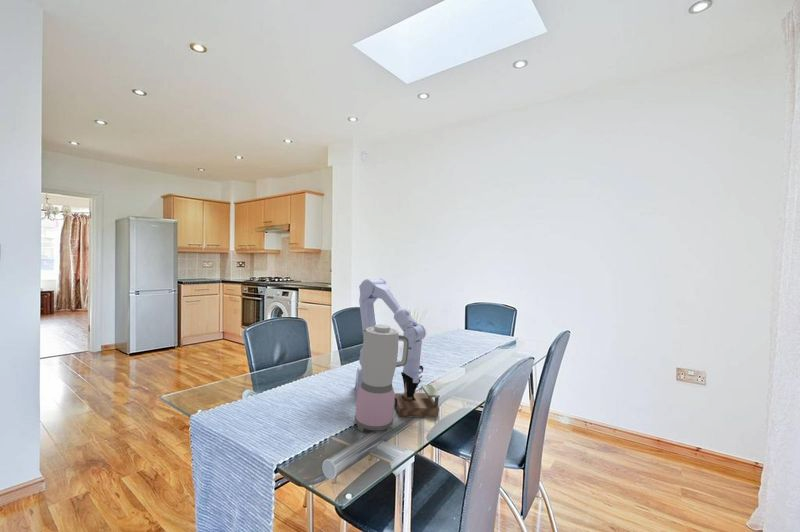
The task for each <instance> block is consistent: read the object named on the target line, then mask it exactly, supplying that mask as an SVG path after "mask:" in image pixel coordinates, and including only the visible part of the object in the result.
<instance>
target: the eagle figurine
mask: <svg viewBox="0 0 800 532" xmlns="http://www.w3.org/2000/svg"><path fill="white" fill-rule="evenodd" d="M419 369H421V370H422V373H423V372H424V366H423V365H420V366H419ZM420 375H421V373H419V379H421V378H423V375H421V376H420Z"/></svg>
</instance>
